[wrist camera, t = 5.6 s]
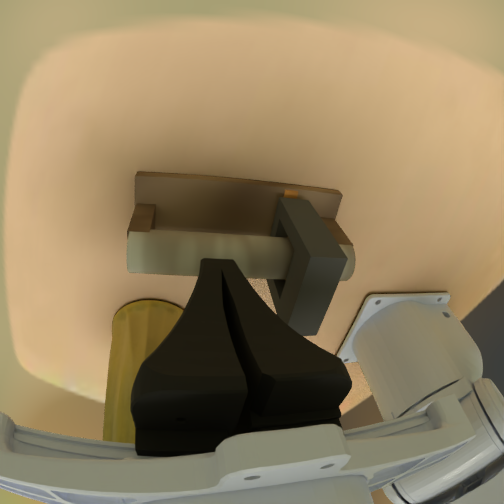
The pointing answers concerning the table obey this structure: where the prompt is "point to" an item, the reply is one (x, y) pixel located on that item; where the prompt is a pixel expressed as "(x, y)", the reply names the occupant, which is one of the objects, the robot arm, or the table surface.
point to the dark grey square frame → (305, 266)
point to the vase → (132, 359)
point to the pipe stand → (219, 224)
